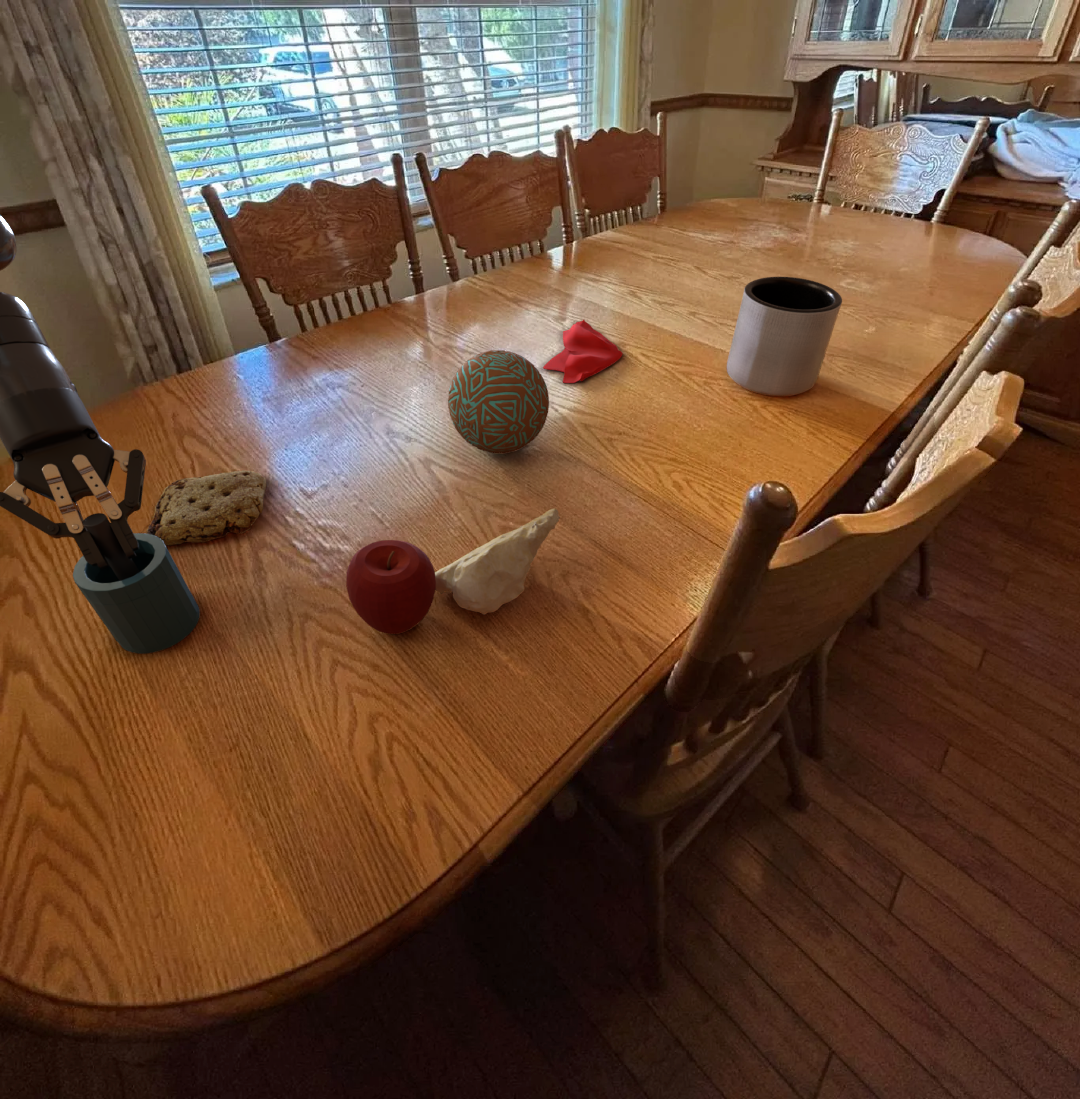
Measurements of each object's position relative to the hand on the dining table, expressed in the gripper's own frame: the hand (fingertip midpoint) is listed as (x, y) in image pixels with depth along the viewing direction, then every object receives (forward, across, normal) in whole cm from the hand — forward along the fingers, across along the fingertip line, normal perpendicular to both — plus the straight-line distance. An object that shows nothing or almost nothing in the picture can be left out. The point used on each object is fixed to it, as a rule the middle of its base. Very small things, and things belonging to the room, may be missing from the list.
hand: (118, 561), depth 63 cm
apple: (+18, +22, -2) cm, 29 cm away
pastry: (-5, +11, +22) cm, 25 cm away
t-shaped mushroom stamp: (+5, 0, +8) cm, 9 cm away
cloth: (-9, +84, +25) cm, 88 cm away
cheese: (+20, +35, -3) cm, 40 cm away
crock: (+7, 0, +10) cm, 12 cm away
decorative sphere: (+3, +52, +14) cm, 54 cm away
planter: (+11, +104, +5) cm, 105 cm away
